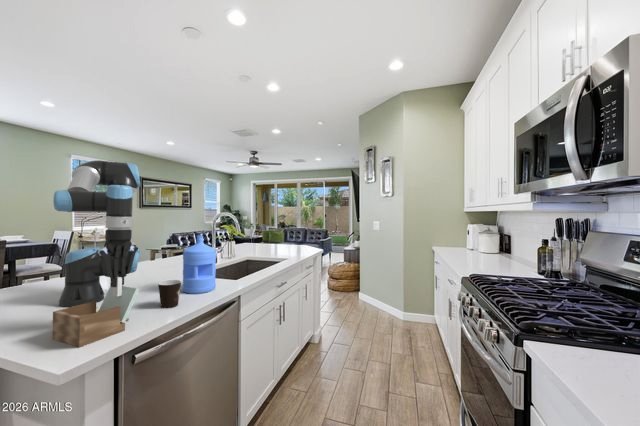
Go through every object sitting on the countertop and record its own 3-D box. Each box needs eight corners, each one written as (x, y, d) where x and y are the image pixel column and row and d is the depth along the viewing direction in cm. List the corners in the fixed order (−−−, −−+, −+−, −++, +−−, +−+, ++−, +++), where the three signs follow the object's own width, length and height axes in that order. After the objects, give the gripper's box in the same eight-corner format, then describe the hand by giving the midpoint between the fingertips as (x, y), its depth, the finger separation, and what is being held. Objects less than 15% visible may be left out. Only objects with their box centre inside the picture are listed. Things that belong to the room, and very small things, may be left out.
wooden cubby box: (52, 338, 86) (52, 311, 86) (98, 323, 98) (99, 299, 98) (79, 347, 81) (79, 318, 81) (124, 330, 93) (125, 305, 93)
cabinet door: (121, 321, 92) (136, 288, 97) (96, 315, 97) (111, 284, 102) (128, 322, 94) (142, 289, 99) (103, 316, 99) (117, 285, 104)
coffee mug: (170, 310, 113) (171, 285, 113) (152, 308, 114) (153, 284, 114) (189, 301, 124) (190, 279, 124) (173, 299, 126) (173, 277, 126)
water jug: (189, 286, 149) (189, 234, 149) (218, 285, 151) (219, 234, 151) (177, 294, 134) (178, 237, 134) (210, 294, 135) (211, 237, 135)
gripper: (105, 230, 90) (103, 302, 90) (143, 228, 102) (142, 292, 102) (91, 229, 93) (89, 299, 93) (130, 228, 105) (128, 289, 105)
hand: (117, 295), depth 97 cm, fingers closed
